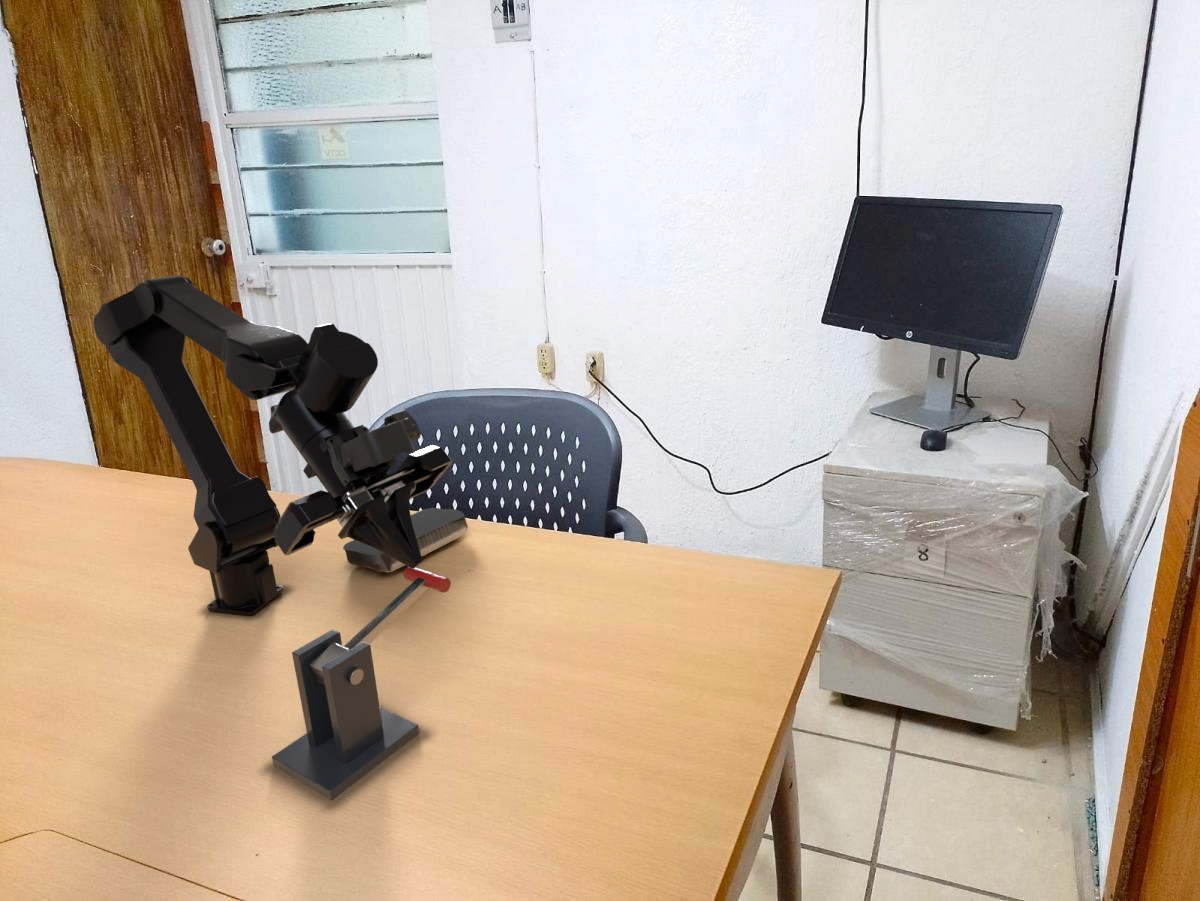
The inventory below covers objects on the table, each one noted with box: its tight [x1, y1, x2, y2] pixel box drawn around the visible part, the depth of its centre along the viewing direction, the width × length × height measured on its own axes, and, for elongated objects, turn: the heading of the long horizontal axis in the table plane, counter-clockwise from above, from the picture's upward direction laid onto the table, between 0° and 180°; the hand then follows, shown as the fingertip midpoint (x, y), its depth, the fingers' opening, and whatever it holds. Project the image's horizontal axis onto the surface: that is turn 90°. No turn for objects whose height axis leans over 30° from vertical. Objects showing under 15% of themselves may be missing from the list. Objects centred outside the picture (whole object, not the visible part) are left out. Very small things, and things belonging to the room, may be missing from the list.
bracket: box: [271, 628, 420, 801], centre depth 73 cm, size 10×8×11 cm
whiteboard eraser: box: [342, 507, 468, 573], centre depth 112 cm, size 16×8×4 cm, turn 143°
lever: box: [310, 566, 452, 686], centre depth 76 cm, size 14×5×2 cm, turn 146°
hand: (417, 565), depth 80 cm, fingers closed
